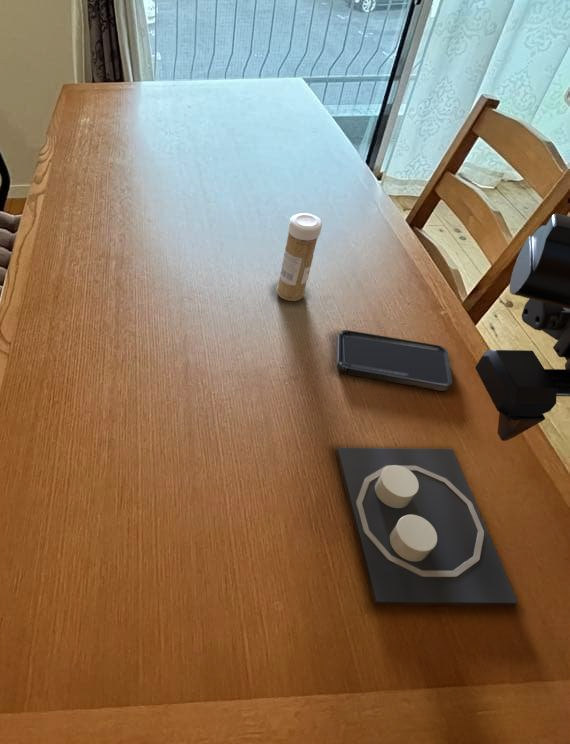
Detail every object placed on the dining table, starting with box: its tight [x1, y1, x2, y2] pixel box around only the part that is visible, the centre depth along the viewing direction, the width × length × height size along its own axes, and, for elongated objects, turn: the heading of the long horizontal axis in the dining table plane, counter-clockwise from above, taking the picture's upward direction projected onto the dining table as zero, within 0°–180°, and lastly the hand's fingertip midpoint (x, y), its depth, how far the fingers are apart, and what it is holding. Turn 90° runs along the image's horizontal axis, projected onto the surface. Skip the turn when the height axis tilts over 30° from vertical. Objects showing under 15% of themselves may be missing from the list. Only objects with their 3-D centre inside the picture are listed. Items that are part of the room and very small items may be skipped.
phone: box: [336, 329, 453, 392], centre depth 78 cm, size 8×1×15 cm
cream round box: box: [390, 515, 437, 562], centre depth 58 cm, size 4×4×2 cm
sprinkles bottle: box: [275, 212, 323, 302], centre depth 84 cm, size 5×5×14 cm
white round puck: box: [375, 465, 419, 508], centre depth 62 cm, size 4×4×2 cm
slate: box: [335, 447, 519, 608], centre depth 61 cm, size 14×18×1 cm
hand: (547, 437), depth 55 cm, fingers open, 9 cm apart
